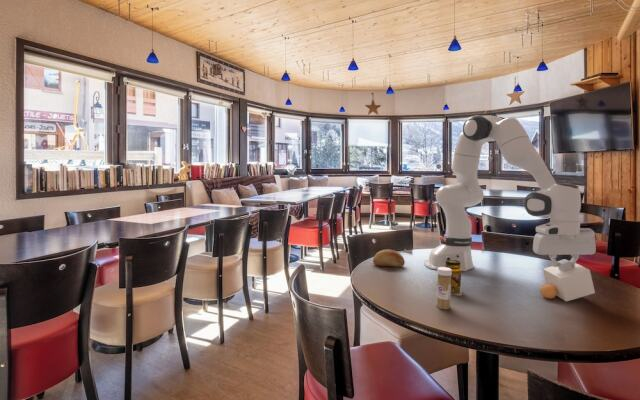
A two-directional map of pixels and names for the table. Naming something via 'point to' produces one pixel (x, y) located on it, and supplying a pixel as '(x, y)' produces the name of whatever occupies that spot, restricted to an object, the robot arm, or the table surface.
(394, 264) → the bread roll
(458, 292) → the condiment
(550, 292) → the ball
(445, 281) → the sprinkles bottle
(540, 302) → the table surface
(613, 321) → the table surface
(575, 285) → the white box
